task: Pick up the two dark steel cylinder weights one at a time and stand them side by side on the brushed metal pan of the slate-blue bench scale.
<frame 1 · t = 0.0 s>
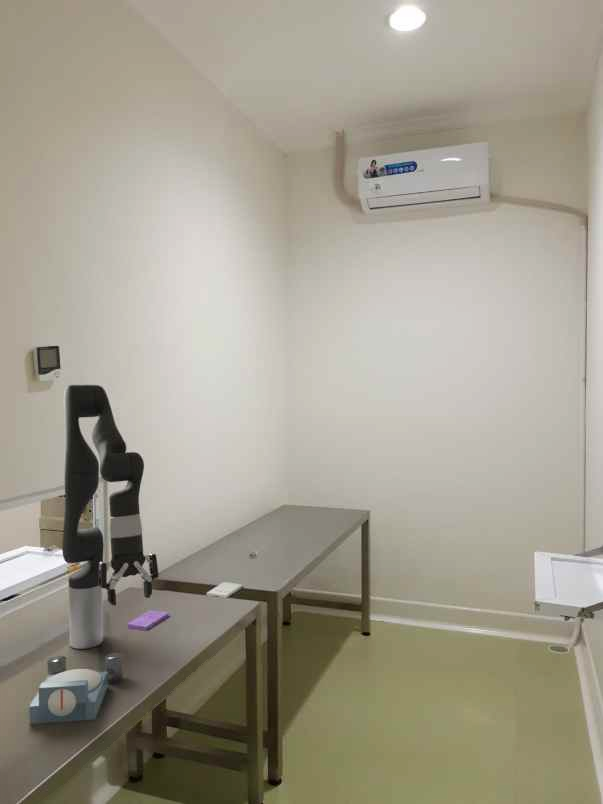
hand: (130, 601, 152), 22 cm above the table, tool pointing down, fingers open, 8 cm apart
bench scale: (70, 704, 146), on the table
steel weight 2: (114, 679, 159), on the table
steel weight 1: (57, 683, 157), on the table
external hard drive: (224, 593, 226), on the table
sponges: (148, 624, 197), on the table
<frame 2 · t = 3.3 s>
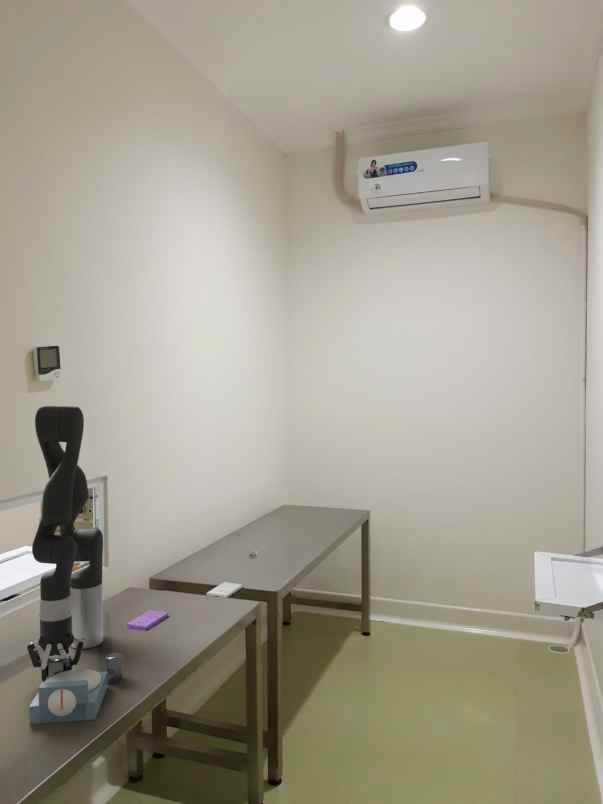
hand: (57, 681, 157), 1 cm above the table, tool pointing down, fingers closed on steel weight 1, 4 cm apart
steel weight 1: (57, 683, 157), on the table, touching gripper
everything else where it was.
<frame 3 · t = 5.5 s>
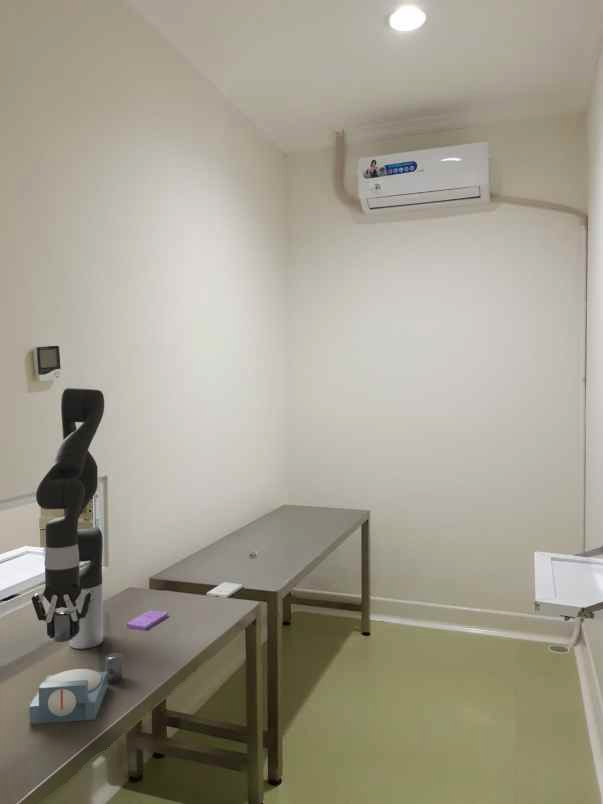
hand: (63, 636, 146), 16 cm above the table, tool pointing down, fingers closed on steel weight 1, 4 cm apart
steel weight 1: (63, 638, 146), point 16 cm above the table, touching gripper
everything else where it was.
when the fingers open (7 cm above the table, at t = 7.8 s): steel weight 1 drops 1 cm, resting on bench scale.
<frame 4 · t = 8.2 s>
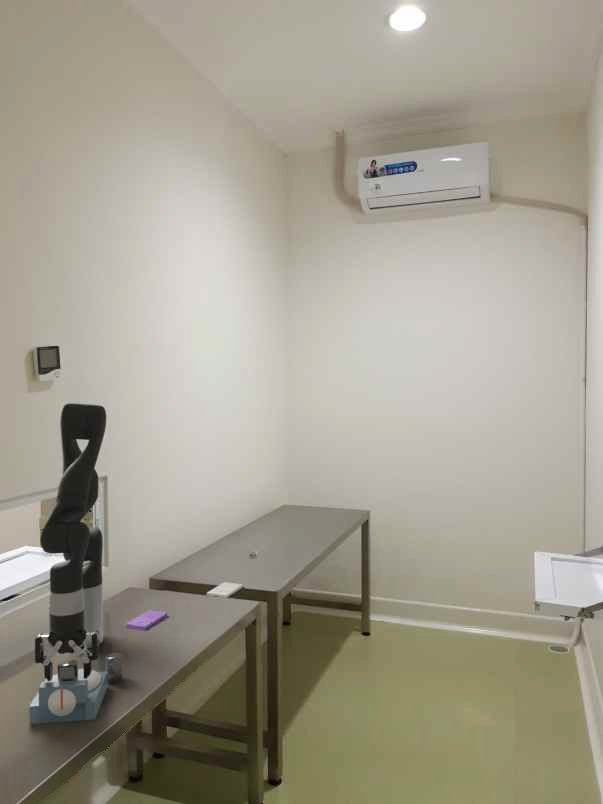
hand: (68, 678, 144), 7 cm above the table, tool pointing down, fingers open, 7 cm apart
steel weight 1: (68, 689, 144), point 5 cm above the table, touching bench scale
everything else where it was.
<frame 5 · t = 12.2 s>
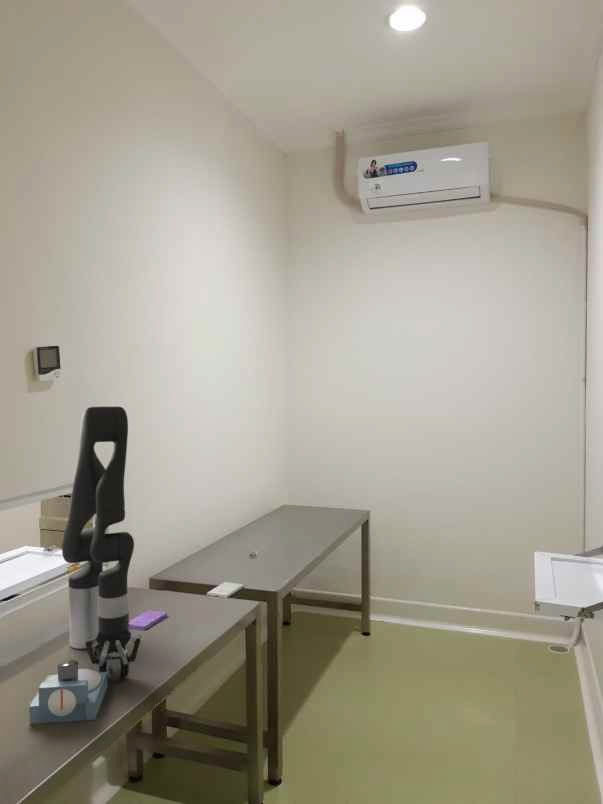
hand: (114, 677, 159), 1 cm above the table, tool pointing down, fingers closed on steel weight 2, 4 cm apart
steel weight 2: (114, 679, 159), on the table, touching gripper
everything else where it was.
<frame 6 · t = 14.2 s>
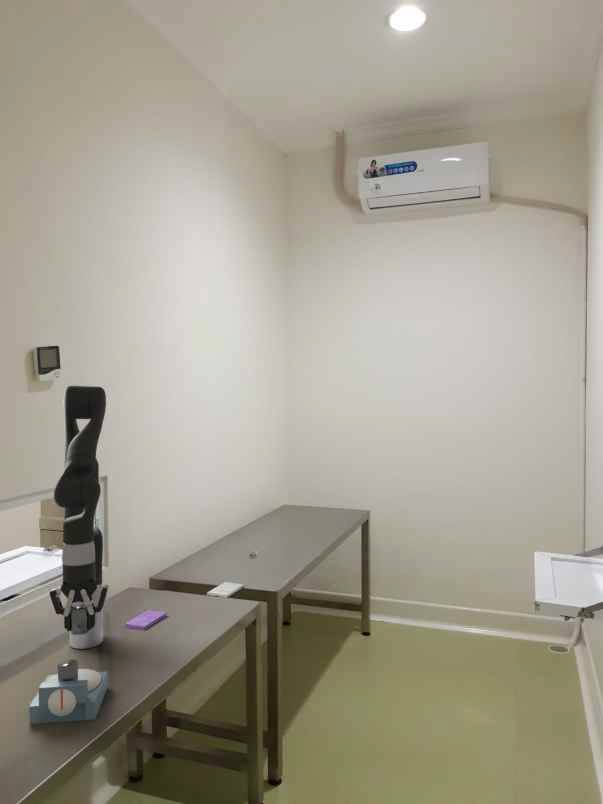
hand: (80, 629, 152), 15 cm above the table, tool pointing down, fingers closed on steel weight 2, 4 cm apart
steel weight 2: (80, 631, 152), point 15 cm above the table, touching gripper
everything else where it was.
when the fingers open (7 cm above the table, at t = 16.3 s): steel weight 2 drops 1 cm, resting on bench scale.
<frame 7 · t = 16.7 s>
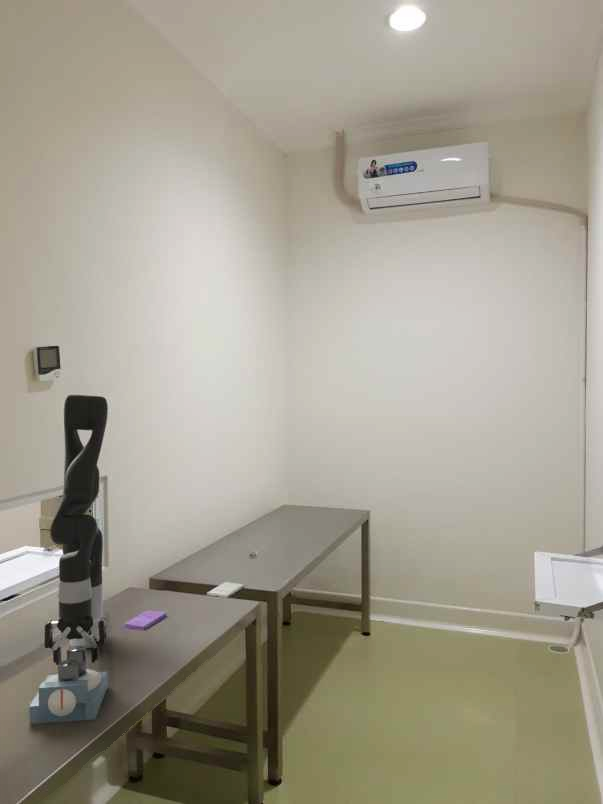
hand: (76, 662, 152), 7 cm above the table, tool pointing down, fingers open, 8 cm apart
steel weight 2: (76, 673, 152), point 5 cm above the table, touching bench scale
everything else where it was.
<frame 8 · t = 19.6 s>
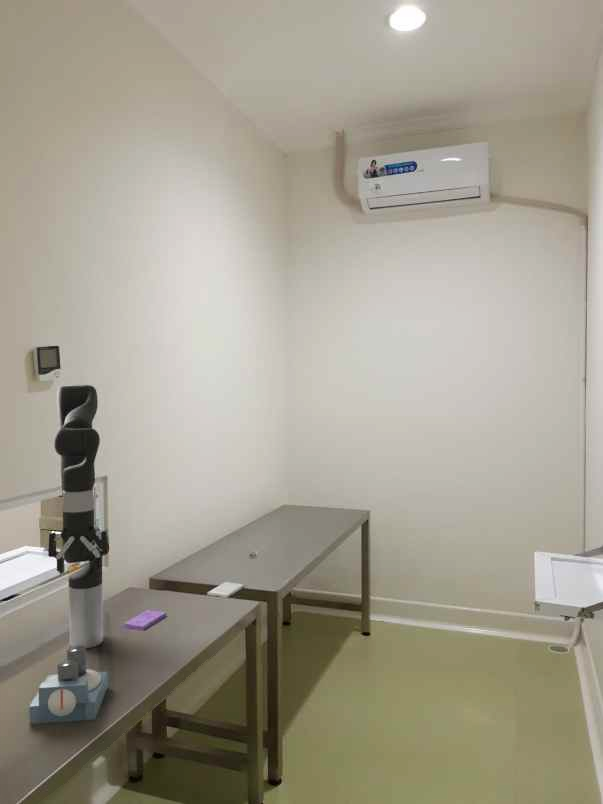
hand: (79, 572, 156), 28 cm above the table, tool pointing down, fingers open, 8 cm apart
at the end: steel weight 1 0.0 cm from the target spot on the bench scale, point 4.6 cm above the bench scale's base; steel weight 2 0.1 cm from the target spot on the bench scale, point 4.6 cm above the bench scale's base; steel weight 2 tilted 0° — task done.
